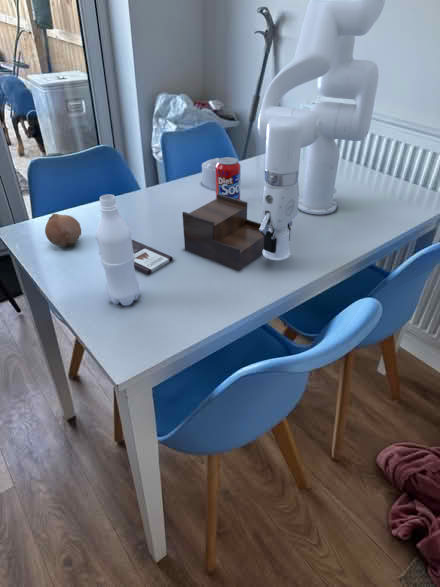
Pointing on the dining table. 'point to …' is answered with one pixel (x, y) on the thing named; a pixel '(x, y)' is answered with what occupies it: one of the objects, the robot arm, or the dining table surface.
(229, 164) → the soda can
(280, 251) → the downlight
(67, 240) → the brown coconut
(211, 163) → the lumpy-topped squat cylinder
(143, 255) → the chocolate bar
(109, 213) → the water bottle
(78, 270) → the dining table surface
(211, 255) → the spice shelf
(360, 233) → the dining table surface
